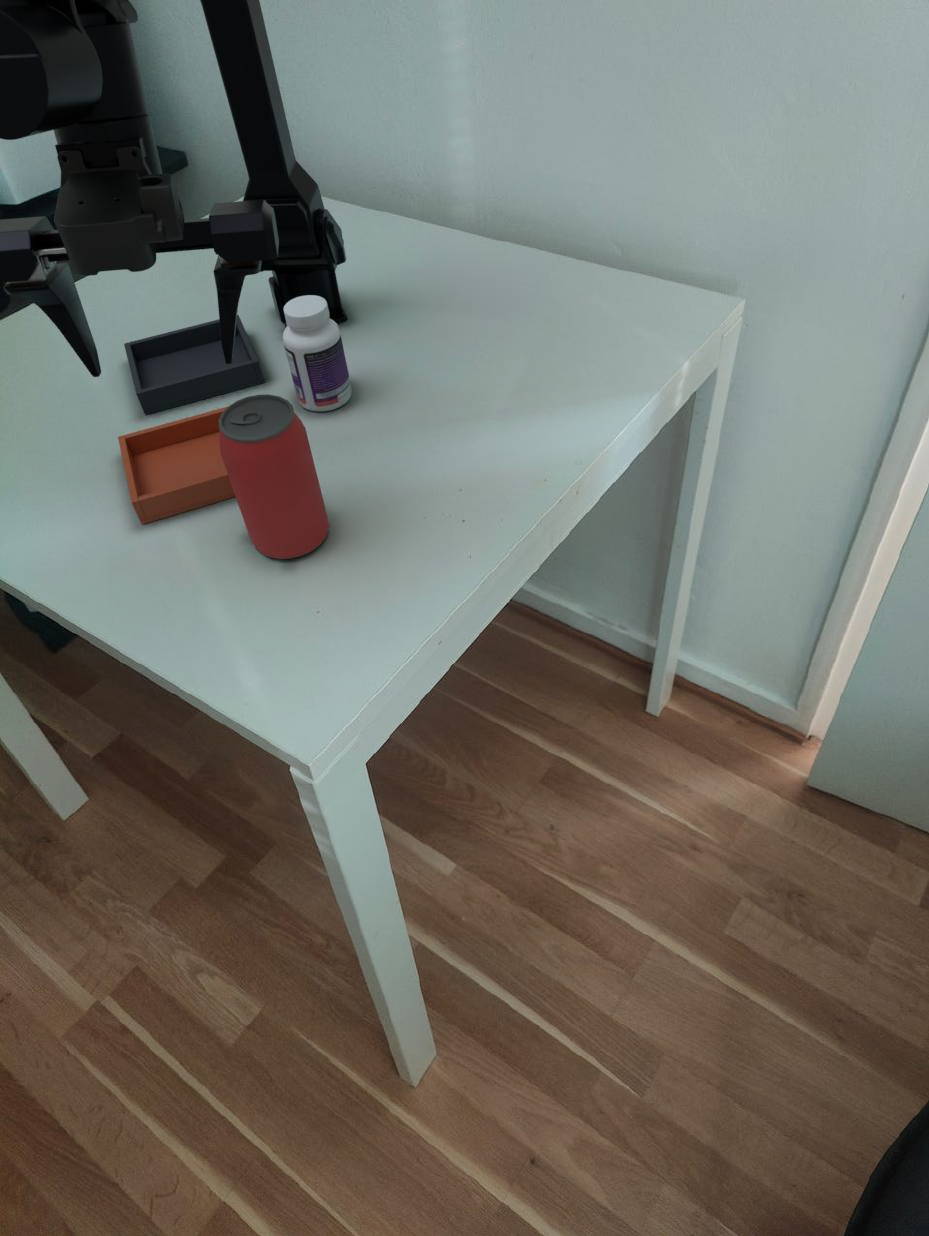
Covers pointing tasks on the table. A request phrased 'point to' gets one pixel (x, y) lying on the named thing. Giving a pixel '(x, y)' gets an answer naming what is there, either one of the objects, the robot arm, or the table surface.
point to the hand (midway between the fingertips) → (163, 368)
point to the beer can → (273, 476)
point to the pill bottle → (315, 354)
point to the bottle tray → (175, 467)
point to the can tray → (190, 366)
